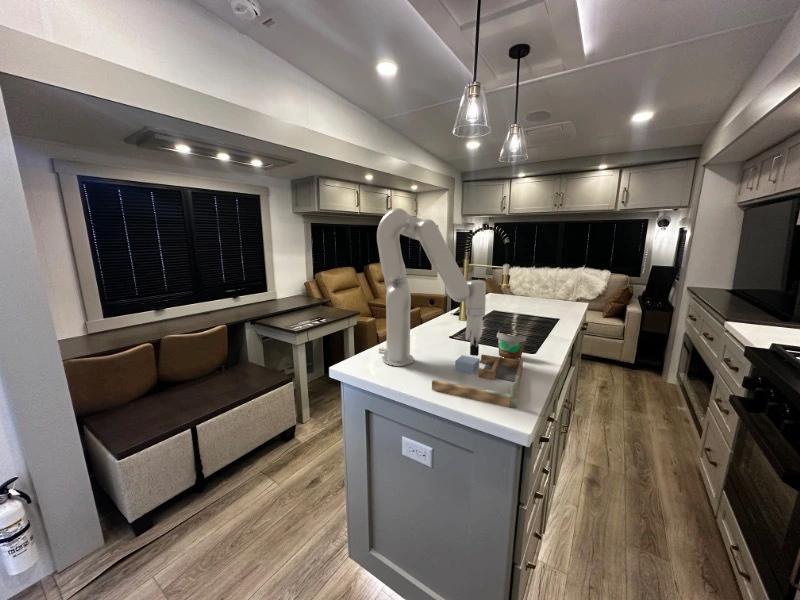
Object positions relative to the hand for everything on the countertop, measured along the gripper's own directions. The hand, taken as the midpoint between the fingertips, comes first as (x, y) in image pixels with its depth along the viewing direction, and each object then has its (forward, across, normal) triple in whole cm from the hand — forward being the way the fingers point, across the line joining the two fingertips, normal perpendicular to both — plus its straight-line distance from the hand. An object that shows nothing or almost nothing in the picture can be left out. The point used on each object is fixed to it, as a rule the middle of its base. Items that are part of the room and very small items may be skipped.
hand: (474, 354), depth 126 cm
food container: (+3, -10, +12) cm, 16 cm away
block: (+3, +10, -1) cm, 10 cm away
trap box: (+2, +16, +6) cm, 17 cm away
